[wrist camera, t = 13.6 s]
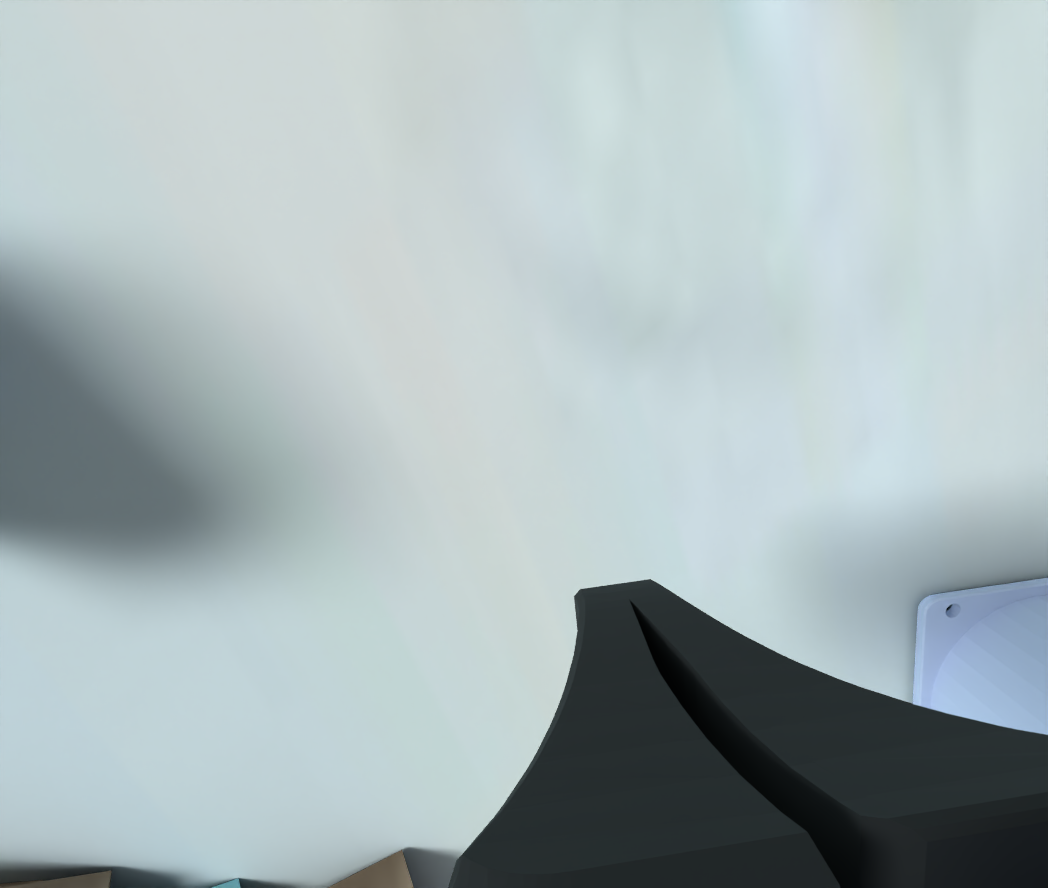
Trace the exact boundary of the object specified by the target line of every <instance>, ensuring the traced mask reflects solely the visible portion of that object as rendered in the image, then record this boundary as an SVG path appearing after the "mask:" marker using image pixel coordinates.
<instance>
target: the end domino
mask: <svg viewBox="0 0 1048 888" xmlns="http://www.w3.org/2000/svg"><path fill="white" fill-rule="evenodd" d="M41 881H43V880H35V881H24V882H13V883H2V884H0V888H3V887H9V886H15V885H22V884H28V883H35V882H41Z"/></svg>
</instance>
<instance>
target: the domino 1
mask: <svg viewBox="0 0 1048 888" xmlns="http://www.w3.org/2000/svg"><path fill="white" fill-rule="evenodd" d="M111 871H112V870H111ZM111 871H105V872H98V873H92V874H86V875H79V876H73V877H66V878H60V879H54V880H47V881H41V882H35V883H28V884H22V885H15V886H9V887H3V888H110V882H111Z"/></svg>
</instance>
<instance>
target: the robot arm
mask: <svg viewBox="0 0 1048 888" xmlns="http://www.w3.org/2000/svg"><path fill="white" fill-rule="evenodd" d="M574 599H575V609H576V619H577V629H578V632H577V638H576V645H575V651H574V656H573V660H572V664H571V668H570V671H569V675H568V679H567V683H566V686H565V689H564V692H563V695H562V698H561V700H560V703H559V706H558V708H557V711H556V713H555V716H554V718H553V720H552V723H551V725H550V727H549V729H548V731H547V733H546V735H545V737H544V739H543V741H542V743H541V745H540V747H539V749H538V751H537V753H536V755H535V757H534V758H533V760H532V762H531V764H530V765H529V767H528V769H527V770H526V772H525V773H524V775H523V776H522V778H521V779H520V781H519V782H518V784H517V785H516V787H515V788H514V790H513V791H512V793H511V794H510V796H509V797H508V799H507V800H506V802H505V803H504V805H503V806H502V807H501V809H500V810H499V811H498V813H497V814H496V815H495V817H494V818H493V819H492V820H491V821H490V823H489V824H488V825H487V826H486V827H485V828H484V830H483V831H482V832H481V833H480V834H479V835H478V837H477V838H476V839H475V840H474V841H473V843H472V844H471V845H470V846H469V847H468V848H467V850H466V851H465V852H464V853H463V854H462V855H461V856H460V857H459V859H458V860H457V861H456V864H455V867H454V870H453V873H452V877H451V880H450V883H449V887H448V888H1048V578H1042V579H1035V580H1028V581H1021V582H1014V583H1008V584H1001V585H994V586H987V587H980V588H974V589H967V590H960V591H953V592H946V593H940V594H933V595H930V596H927V597H926V598H924V599H923V600H922V601H921V603H920V604H919V607H918V615H917V633H916V651H915V670H914V688H913V704H911V703H908V702H905V701H902V700H899V699H895V698H892V697H889V696H886V695H883V694H880V693H877V692H874V691H871V690H867V689H864V688H861V687H859V686H856V685H853V684H850V683H848V682H845V681H842V680H839V679H837V678H834V677H832V676H830V675H827V674H825V673H822V672H820V671H817V670H815V669H813V668H810V667H808V666H805V665H803V664H800V663H798V662H796V661H794V660H792V659H789V658H787V657H785V656H783V655H781V654H779V653H777V652H775V651H773V650H771V649H769V648H767V647H765V646H763V645H761V644H759V643H757V642H755V641H753V640H751V639H749V638H747V637H745V636H744V635H742V634H740V633H738V632H736V631H735V630H733V629H731V628H729V627H728V626H726V625H724V624H722V623H721V622H719V621H717V620H716V619H714V618H712V617H711V616H709V615H707V614H706V613H704V612H702V611H701V610H699V609H698V608H696V607H694V606H693V605H691V604H690V603H688V602H686V601H685V600H683V599H682V598H680V597H679V596H677V595H675V594H674V593H672V592H671V591H669V590H668V589H666V588H664V587H663V586H661V585H660V584H658V583H656V582H654V581H653V580H651V579H649V580H642V581H635V582H628V583H621V584H614V585H607V586H600V587H593V588H586V589H580V590H579V591H578V593H577V594H576V595H575V596H574ZM951 604H952V606H951V608H950V609H949V610H948V611H946V609H947V607H948V606H949V605H951Z"/></svg>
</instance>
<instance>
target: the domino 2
mask: <svg viewBox="0 0 1048 888" xmlns="http://www.w3.org/2000/svg"><path fill="white" fill-rule="evenodd" d="M212 888H240V883H239V878H238V879H235V880H232V881H229V882H226V883H223V884H220V885H218V886H215V887H212Z"/></svg>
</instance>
